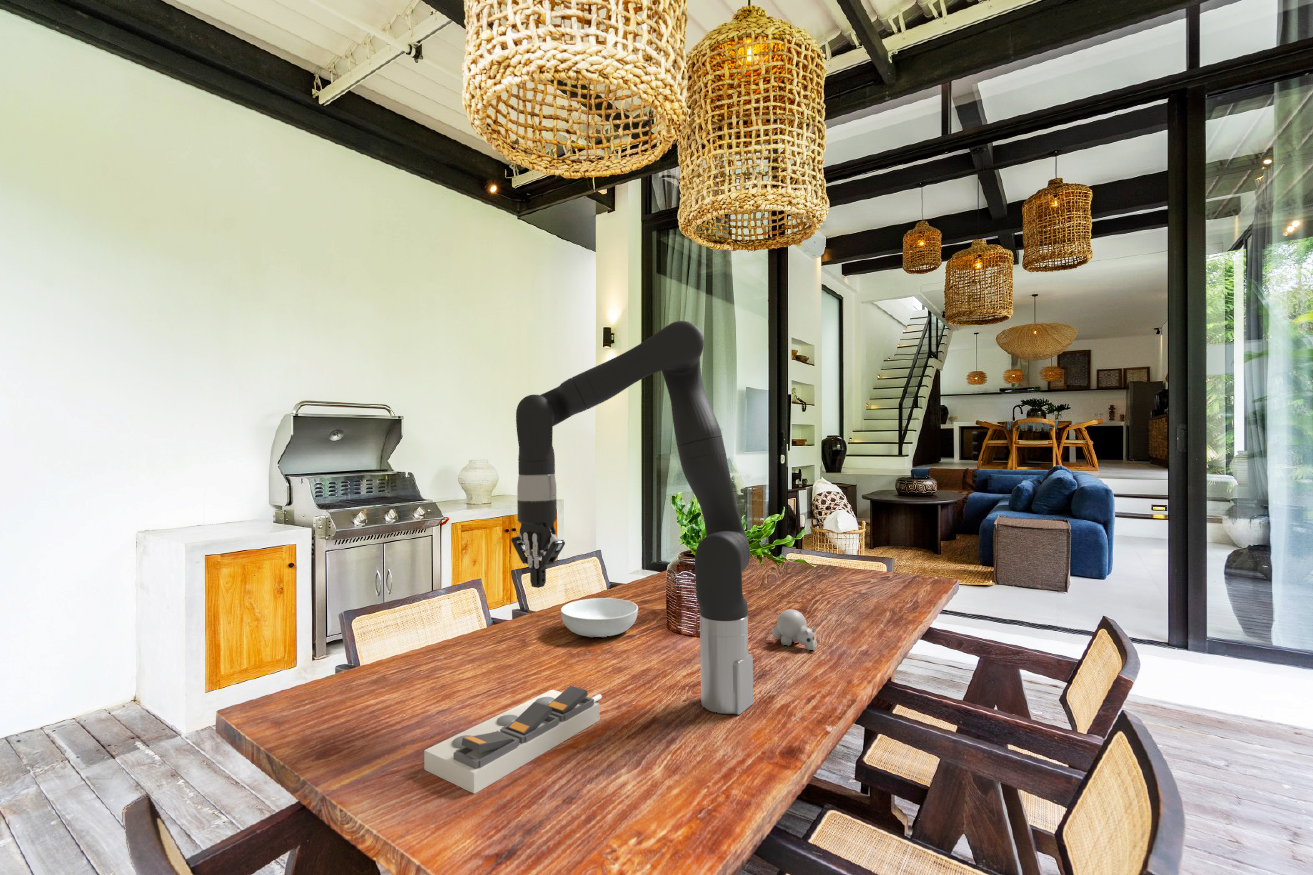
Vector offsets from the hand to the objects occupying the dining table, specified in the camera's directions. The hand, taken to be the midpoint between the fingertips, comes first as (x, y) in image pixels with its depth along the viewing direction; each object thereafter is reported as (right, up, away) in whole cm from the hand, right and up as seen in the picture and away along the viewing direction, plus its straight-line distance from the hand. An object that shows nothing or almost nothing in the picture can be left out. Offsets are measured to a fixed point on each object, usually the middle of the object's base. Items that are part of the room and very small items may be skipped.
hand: (538, 586), depth 117 cm
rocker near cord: (+7, -18, -9) cm, 22 cm away
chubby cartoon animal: (+58, -23, +32) cm, 70 cm away
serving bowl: (+8, -24, +45) cm, 52 cm away
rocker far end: (-3, -18, -24) cm, 30 cm away
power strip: (+2, -23, -12) cm, 26 cm away
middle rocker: (+2, -18, -17) cm, 25 cm away
